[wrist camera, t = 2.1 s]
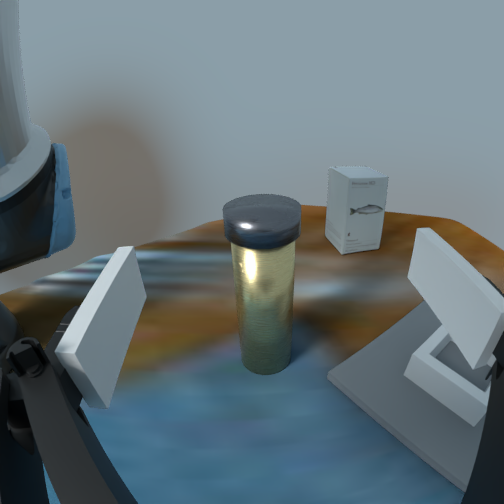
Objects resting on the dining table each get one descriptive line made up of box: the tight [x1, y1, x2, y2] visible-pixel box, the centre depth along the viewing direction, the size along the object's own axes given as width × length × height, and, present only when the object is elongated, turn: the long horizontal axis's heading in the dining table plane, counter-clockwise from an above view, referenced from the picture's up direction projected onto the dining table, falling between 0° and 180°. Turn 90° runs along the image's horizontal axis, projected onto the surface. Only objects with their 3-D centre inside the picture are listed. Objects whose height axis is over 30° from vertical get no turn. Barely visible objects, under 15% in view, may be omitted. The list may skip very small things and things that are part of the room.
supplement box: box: [325, 166, 388, 255], centre depth 49 cm, size 7×7×13 cm
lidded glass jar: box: [223, 194, 301, 375], centre depth 27 cm, size 6×6×16 cm
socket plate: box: [327, 300, 496, 492], centre depth 24 cm, size 20×20×4 cm
